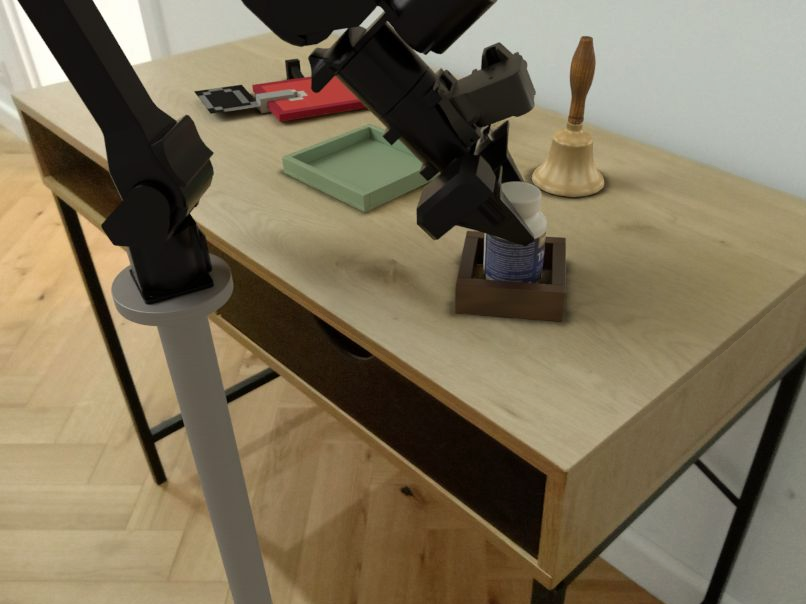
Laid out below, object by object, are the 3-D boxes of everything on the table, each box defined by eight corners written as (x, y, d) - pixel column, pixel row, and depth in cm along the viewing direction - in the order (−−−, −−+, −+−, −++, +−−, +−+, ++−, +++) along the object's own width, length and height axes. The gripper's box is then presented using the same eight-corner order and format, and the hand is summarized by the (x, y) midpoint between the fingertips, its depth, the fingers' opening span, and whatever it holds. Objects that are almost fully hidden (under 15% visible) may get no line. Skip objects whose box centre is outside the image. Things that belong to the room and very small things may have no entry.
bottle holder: (454, 313, 69) (455, 284, 67) (466, 257, 76) (466, 230, 74) (562, 321, 68) (565, 293, 66) (562, 264, 75) (566, 237, 73)
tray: (364, 212, 82) (363, 195, 81) (283, 173, 89) (281, 156, 88) (451, 171, 91) (451, 155, 89) (370, 138, 97) (370, 123, 96)
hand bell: (585, 161, 94) (603, 23, 84) (616, 192, 87) (639, 46, 77) (521, 169, 91) (531, 28, 82) (548, 201, 85) (562, 53, 75)
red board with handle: (191, 93, 107) (222, 134, 97) (187, 72, 105) (218, 113, 95) (390, 65, 119) (435, 99, 109) (389, 46, 117) (435, 79, 108)
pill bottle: (546, 302, 70) (556, 205, 64) (487, 306, 69) (492, 208, 63) (533, 270, 74) (542, 176, 68) (478, 273, 74) (481, 178, 68)
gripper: (463, 62, 50) (611, 225, 56) (487, -11, 65) (603, 125, 71) (351, 167, 56) (497, 305, 62) (397, 78, 70) (511, 197, 76)
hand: (531, 225), depth 68 cm, fingers closed on pill bottle, 5 cm apart
